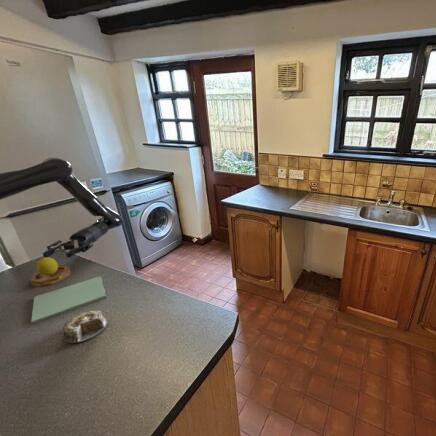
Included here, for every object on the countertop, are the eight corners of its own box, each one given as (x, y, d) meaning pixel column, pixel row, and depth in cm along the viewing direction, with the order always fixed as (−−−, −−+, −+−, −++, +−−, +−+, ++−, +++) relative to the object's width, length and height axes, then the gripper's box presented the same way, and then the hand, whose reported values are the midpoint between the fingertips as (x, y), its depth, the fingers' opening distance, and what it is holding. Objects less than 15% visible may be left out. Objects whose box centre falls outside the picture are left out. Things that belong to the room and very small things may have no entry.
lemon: (46, 281, 88) (38, 262, 85) (37, 277, 90) (29, 259, 87) (64, 273, 93) (57, 255, 90) (55, 269, 95) (47, 252, 92)
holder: (30, 290, 85) (28, 286, 84) (32, 276, 92) (30, 271, 92) (71, 278, 92) (69, 274, 91) (70, 265, 99) (68, 261, 98)
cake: (56, 339, 68) (48, 324, 66) (94, 314, 76) (88, 300, 75) (78, 349, 64) (70, 333, 62) (115, 322, 73) (110, 307, 71)
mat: (32, 323, 72) (31, 321, 71) (35, 298, 81) (34, 296, 81) (106, 297, 83) (105, 295, 83) (101, 277, 92) (100, 276, 92)
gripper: (67, 228, 107) (32, 247, 92) (100, 229, 107) (71, 247, 92) (72, 243, 110) (40, 263, 95) (105, 243, 110) (78, 263, 95)
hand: (55, 255), depth 94 cm, fingers open, 8 cm apart
